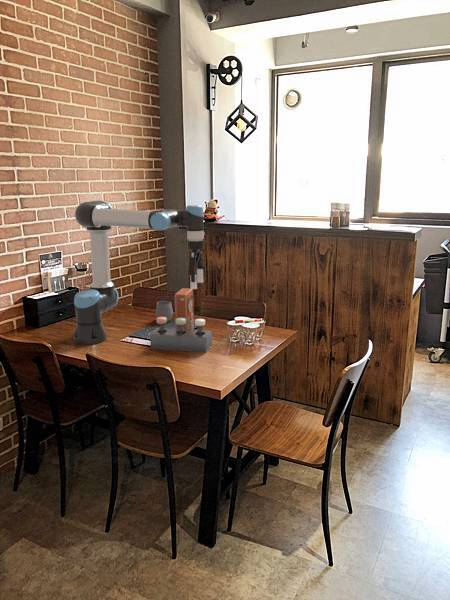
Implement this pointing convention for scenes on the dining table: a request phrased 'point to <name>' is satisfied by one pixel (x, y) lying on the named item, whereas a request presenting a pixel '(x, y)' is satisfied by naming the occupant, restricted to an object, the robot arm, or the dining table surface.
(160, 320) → the knob
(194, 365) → the dining table surface
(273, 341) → the dining table surface
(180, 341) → the mount
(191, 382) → the dining table surface
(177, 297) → the orange cardboard box
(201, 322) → the knob
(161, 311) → the cup
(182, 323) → the knob mid
